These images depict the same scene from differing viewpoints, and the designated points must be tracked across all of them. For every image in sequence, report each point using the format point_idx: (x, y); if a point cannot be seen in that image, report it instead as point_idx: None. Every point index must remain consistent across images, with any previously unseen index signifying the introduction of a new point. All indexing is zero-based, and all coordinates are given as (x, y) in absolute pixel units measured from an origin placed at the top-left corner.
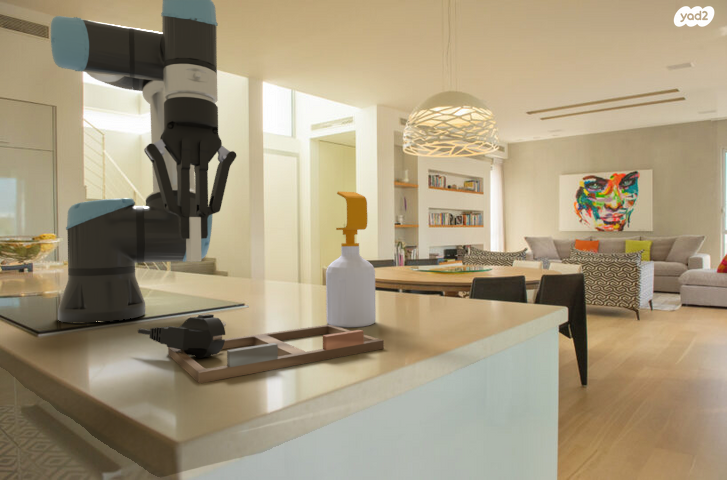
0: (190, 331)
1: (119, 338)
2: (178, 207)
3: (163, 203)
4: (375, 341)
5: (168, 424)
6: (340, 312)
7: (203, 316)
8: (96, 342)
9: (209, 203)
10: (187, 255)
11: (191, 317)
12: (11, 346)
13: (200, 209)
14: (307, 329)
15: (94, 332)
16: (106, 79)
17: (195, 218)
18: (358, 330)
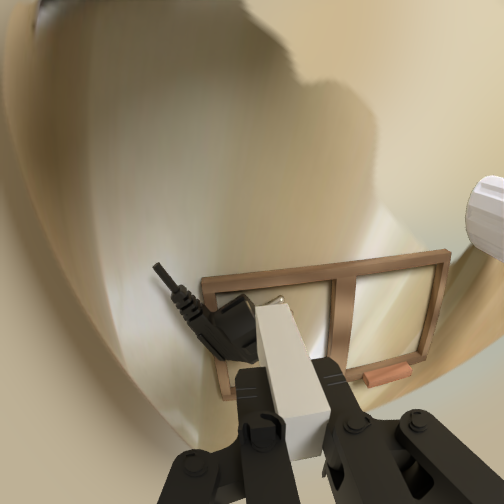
0: (226, 358)
1: (135, 91)
2: (237, 493)
3: (164, 489)
4: (417, 362)
5: (193, 440)
6: (480, 239)
7: (251, 354)
8: (99, 110)
9: (417, 454)
10: (257, 330)
11: (234, 342)
12: (7, 93)
13: (330, 478)
14: (417, 266)
15: (104, 18)
16: None
17: (299, 454)
18: (409, 373)
